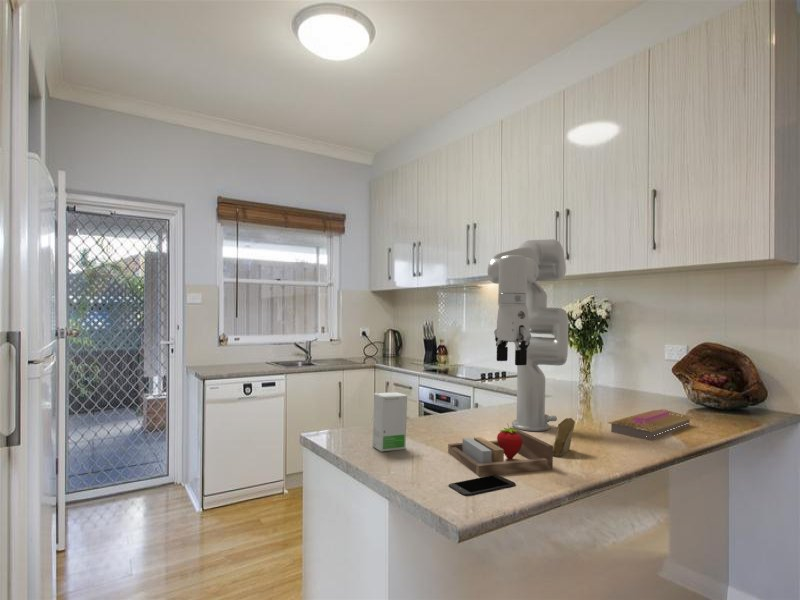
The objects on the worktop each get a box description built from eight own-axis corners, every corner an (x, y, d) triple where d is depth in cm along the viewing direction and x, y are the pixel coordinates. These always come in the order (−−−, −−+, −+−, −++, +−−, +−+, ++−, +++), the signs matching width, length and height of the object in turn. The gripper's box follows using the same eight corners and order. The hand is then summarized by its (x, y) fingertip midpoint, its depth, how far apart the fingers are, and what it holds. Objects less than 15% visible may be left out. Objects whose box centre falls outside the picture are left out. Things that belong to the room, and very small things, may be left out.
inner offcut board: (481, 455, 131) (481, 437, 131) (503, 469, 120) (503, 449, 120) (473, 455, 130) (473, 437, 130) (494, 470, 119) (495, 450, 119)
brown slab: (651, 419, 181) (652, 403, 182) (693, 427, 170) (693, 410, 170) (607, 433, 159) (607, 415, 159) (651, 443, 148) (651, 423, 148)
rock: (565, 452, 127) (589, 443, 132) (548, 423, 131) (572, 415, 136) (542, 466, 134) (566, 457, 139) (527, 438, 139) (551, 430, 144)
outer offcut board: (470, 455, 130) (470, 437, 130) (491, 470, 118) (491, 450, 119) (462, 456, 129) (462, 438, 129) (482, 471, 118) (482, 451, 118)
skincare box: (380, 452, 131) (382, 396, 131) (371, 446, 136) (372, 392, 137) (407, 449, 134) (408, 394, 135) (396, 442, 140) (397, 391, 141)
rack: (513, 447, 138) (513, 427, 138) (552, 469, 120) (552, 445, 120) (448, 452, 132) (448, 431, 132) (478, 476, 114) (479, 451, 114)
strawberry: (512, 465, 122) (513, 427, 122) (491, 457, 128) (492, 421, 128) (527, 461, 125) (528, 424, 126) (506, 454, 132) (507, 418, 132)
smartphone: (446, 486, 107) (446, 482, 107) (496, 476, 115) (496, 473, 115) (465, 499, 101) (465, 494, 101) (517, 487, 108) (517, 483, 108)
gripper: (542, 300, 120) (541, 366, 120) (507, 301, 137) (506, 359, 137) (517, 299, 118) (515, 367, 118) (485, 300, 135) (483, 359, 134)
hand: (511, 362), depth 127 cm, fingers open, 9 cm apart
